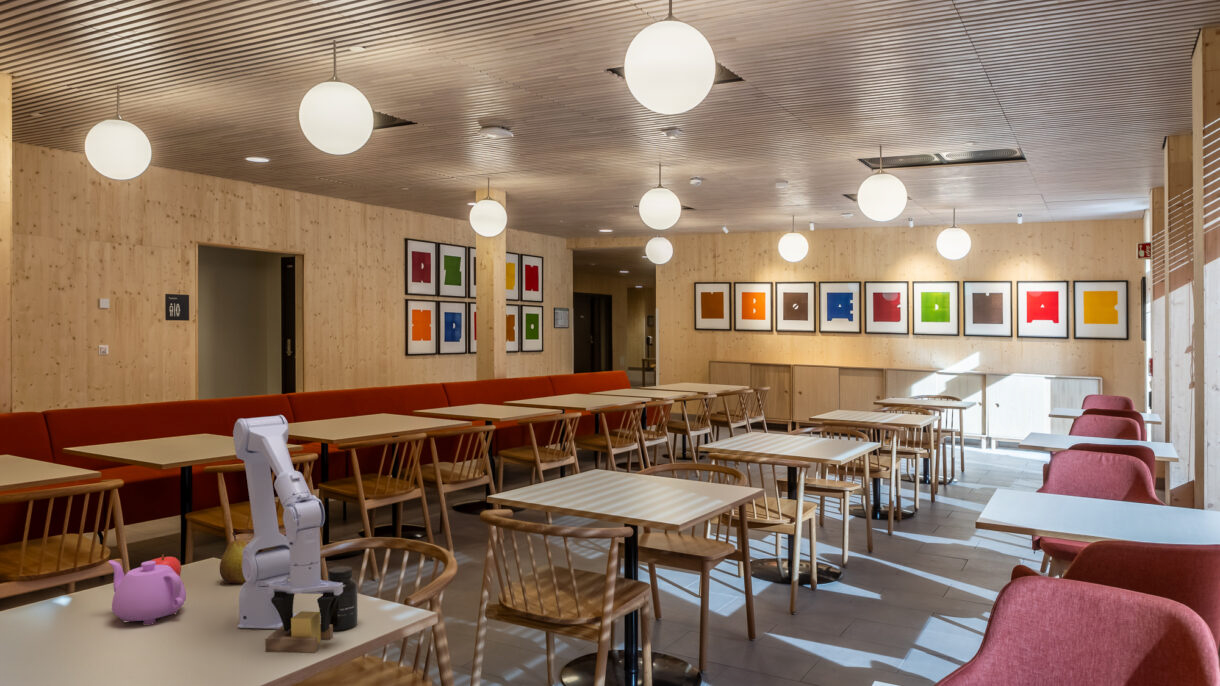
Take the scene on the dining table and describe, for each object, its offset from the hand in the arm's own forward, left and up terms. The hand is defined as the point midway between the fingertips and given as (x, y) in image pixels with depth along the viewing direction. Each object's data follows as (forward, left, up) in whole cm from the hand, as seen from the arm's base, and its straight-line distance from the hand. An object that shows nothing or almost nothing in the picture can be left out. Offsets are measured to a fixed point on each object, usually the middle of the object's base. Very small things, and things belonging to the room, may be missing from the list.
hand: (306, 629), depth 161 cm
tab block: (0, 0, -3) cm, 3 cm away
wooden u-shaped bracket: (-1, 0, -3) cm, 3 cm away
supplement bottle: (+3, +10, -3) cm, 11 cm away
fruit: (-36, +38, -3) cm, 53 cm away
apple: (-53, +33, -3) cm, 63 cm away
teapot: (-43, +13, -3) cm, 46 cm away
